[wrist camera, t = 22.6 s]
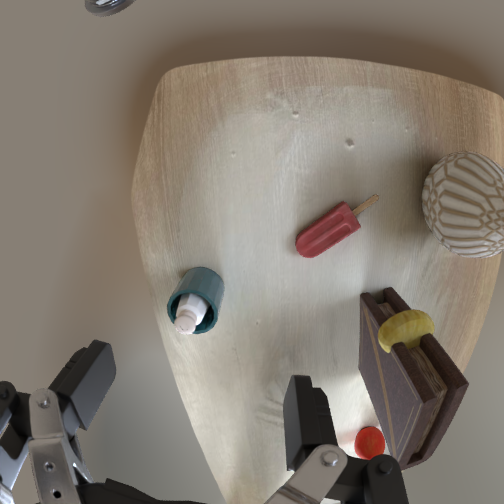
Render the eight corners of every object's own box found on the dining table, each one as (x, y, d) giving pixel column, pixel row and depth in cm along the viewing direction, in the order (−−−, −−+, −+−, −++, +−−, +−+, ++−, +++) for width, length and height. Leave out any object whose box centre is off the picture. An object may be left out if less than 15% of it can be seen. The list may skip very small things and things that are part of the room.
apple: (349, 441, 60) (356, 471, 50) (353, 426, 58) (362, 458, 48) (377, 435, 60) (386, 464, 50) (382, 419, 57) (393, 450, 47)
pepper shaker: (186, 302, 45) (168, 342, 35) (181, 273, 44) (160, 308, 33) (218, 302, 45) (207, 344, 35) (215, 272, 43) (202, 308, 33)
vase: (450, 254, 42) (520, 304, 23) (392, 213, 40) (469, 257, 21) (484, 181, 37) (561, 204, 18) (429, 130, 35) (517, 129, 16)
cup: (175, 294, 46) (160, 319, 38) (190, 259, 44) (177, 280, 36) (213, 313, 47) (205, 341, 39) (231, 279, 45) (226, 304, 37)
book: (390, 365, 50) (434, 457, 27) (353, 374, 51) (386, 475, 28) (398, 271, 43) (483, 361, 20) (353, 280, 44) (420, 388, 21)
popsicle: (387, 209, 38) (307, 264, 42) (383, 206, 40) (305, 260, 43) (373, 183, 37) (290, 241, 41) (369, 182, 39) (289, 237, 42)
